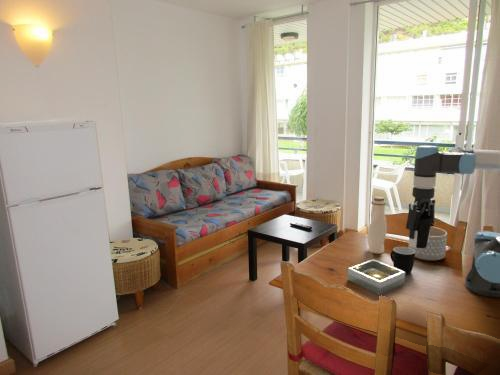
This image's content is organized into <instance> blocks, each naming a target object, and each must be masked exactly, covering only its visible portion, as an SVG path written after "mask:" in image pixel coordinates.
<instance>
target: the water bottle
mask: <svg viewBox="0 0 500 375" xmlns="http://www.w3.org/2000/svg"><path fill="white" fill-rule="evenodd" d="M370 204H371V205H372V207H371V211H370V223H369V226H368V230H367V236H366V239H367V240H366V241H367V244H368V245H367V247H368V252H370V253H373V254H377V255H378V254H383V253H384V252H385V244H384V243H385V240H386V236H387V229H388V227H387V226H388V225H387V217H386V214H385V213H386V212H385V208H386V207H385V206H386V205H387V203H386V201H385V197H384V196H377V195H376V196H373V200H372V201H370Z"/></svg>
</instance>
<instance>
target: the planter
mask: <svg viewBox="0 0 500 375" xmlns="http://www.w3.org/2000/svg"><path fill="white" fill-rule="evenodd" d="M409 233H410V231H409V232H408V234H409ZM447 238H448V232H447V231H446V230H444V229H443V228H440V227H436V226H433V227H430V235H429V243H427V247H426V248H416V247H412V246H409V245H408V247H407V248H411V249H413V250H414V251H415V258H416V259H418V260H422V261H425V262H426V261H427V262H429V261H430V262H434V261H435V262H436V261H439V260H442V259H444V258H446V251H447V240H448V239H447Z"/></svg>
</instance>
